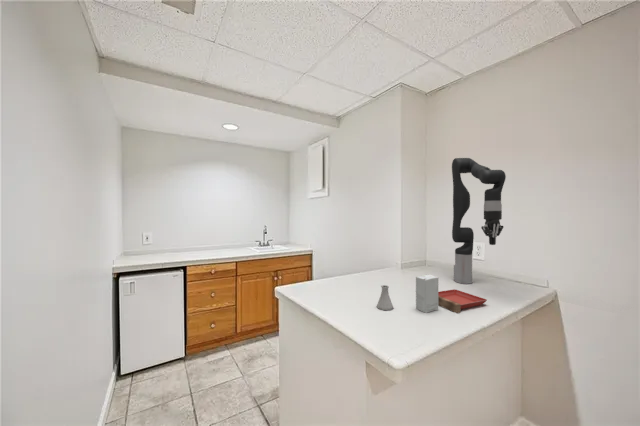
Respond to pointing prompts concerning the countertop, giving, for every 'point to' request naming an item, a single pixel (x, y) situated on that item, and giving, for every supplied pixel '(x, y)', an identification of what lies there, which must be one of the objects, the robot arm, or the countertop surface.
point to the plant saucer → (462, 298)
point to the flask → (384, 299)
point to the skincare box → (427, 293)
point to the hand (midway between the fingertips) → (492, 244)
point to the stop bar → (449, 304)
